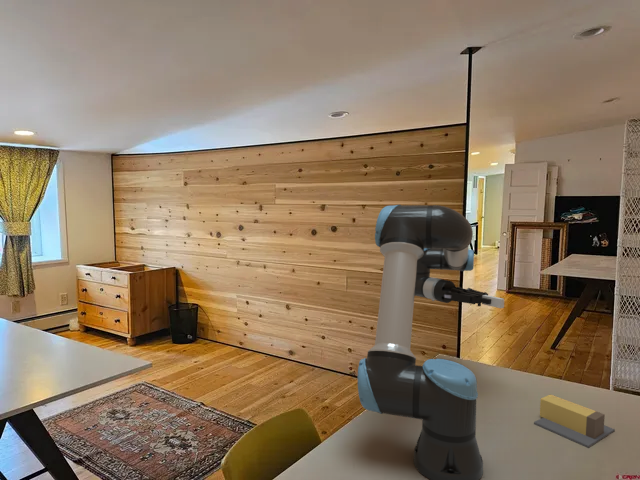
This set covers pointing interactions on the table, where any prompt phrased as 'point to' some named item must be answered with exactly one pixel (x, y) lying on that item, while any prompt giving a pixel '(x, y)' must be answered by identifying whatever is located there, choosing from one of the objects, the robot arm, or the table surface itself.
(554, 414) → the ochre post
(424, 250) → the robot arm
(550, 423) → the charcoal mat
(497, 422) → the table surface
